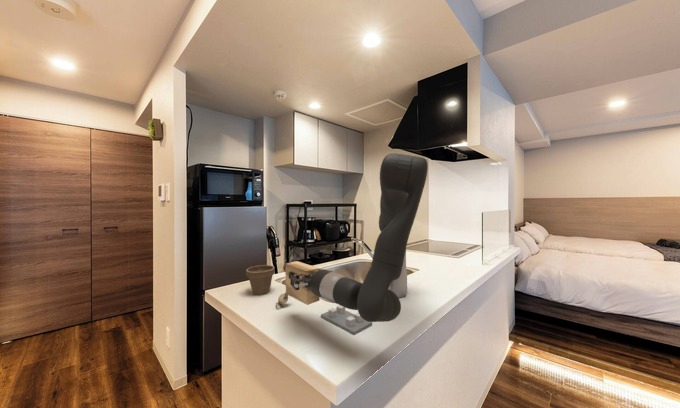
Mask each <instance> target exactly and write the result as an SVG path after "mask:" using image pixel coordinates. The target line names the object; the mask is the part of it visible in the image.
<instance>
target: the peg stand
mask: <svg viewBox="0 0 680 408" xmlns="http://www.w3.org/2000/svg"><path fill="white" fill-rule="evenodd" d="M320 318H321V319H323V320H325V321H327V322H329V323H331V324H333V325H335V326H336V327H338V328H340V329H342V330H344V331H346V332H348V333H349V334H351V335H356V334H359V333H360V332H362V331H364V330H366V329H367V328H369V327H371V326H373V322H368V321H365V320H364V319H363V318H362V317H361V316H360V314H359V312H358V311H357V312H356V313H352V312H350V311H348V310H346V308H345V307H343V306H341V305H339V304H338V305H336V308H334V307H332V308H330V309H328V311H327V312H324V313H321V314H320Z"/></svg>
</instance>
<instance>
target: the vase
mask: <svg viewBox="0 0 680 408" xmlns="http://www.w3.org/2000/svg"><path fill="white" fill-rule="evenodd" d="M288 301H289V295H287V294H286V292H285V293H280V295H279V296H278V298H277V302H275V305H276V310H281V309H282V306H283V305H285V304H286V303H287V302H288Z"/></svg>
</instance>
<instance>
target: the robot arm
mask: <svg viewBox="0 0 680 408" xmlns="http://www.w3.org/2000/svg"><path fill="white" fill-rule="evenodd" d="M381 161H382V162H381V165H380V169H379V185H380V200H379V201H380V203H379V208H380V209H379V210H380V212H379V217H378V227H379V230H380V233H379V235H378V237H377V239H376V242H375V245H374V251H373V256H372V260H371V266H370V267H369V269H368V271H367V273H366V275H365V277H364V279H363V282H360V281H358V280H356V279H353V278H350V277H346V276H345V275H343V274H340V273H337V272H334V271H333V270H328V269H325V268H323V269H322V268H319V271H317V272H315V274H308V275H305V274H297V273H294V272H292V271H291V272H289V279H290V281H291V283H290V285H291V286H292V287H293V288H294V289H295V290H299V288H300V287H302V286H304V287H305V288H310V289H311V290H312V292H313V293H314V294H315V295H316V296H318V297H319V298H321V299H323V300H325V301H327V302H330V303H333V304H336V305H338V306H339V305H341V306H343V307H345V309H349V310H353V311H357V313H358V312H359V314H360V316H361V317H362V318H363V319H364V320H365V321H368V322H372V323H378V322H379V323H382V322H391V321H393V320H396V318H397V317H398V316H399V315H400V313H401V311H402V304H401V300H400V298H404V297H406V296H407V293H408V269H407V246H408V242H409V237H410V234H411V230H412V227H413V225H414V222H415V218H416V216H417V213H418V209H419V205H420V202H421V200H422V197H423V196H422V195H423V191H424V189H425V184H426V181H427V177H428V176H427V175H428V169H429V167H428V161H427V159H426V158H425V157H421V156H416V155H410V154H404V153H397V152H395V153H388V154H387V155H385V156H384V157H383V159H382V160H381ZM303 276H304V282H303ZM298 277H299V278H300V279H298Z"/></svg>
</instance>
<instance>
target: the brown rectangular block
mask: <svg viewBox="0 0 680 408" xmlns="http://www.w3.org/2000/svg"><path fill="white" fill-rule="evenodd" d="M284 269H285V293H286V294H287V295H288V297H291V298H293V299H295V300H297V301H299V302H301V303H303V304H305V305H307V306H309V305H310V304H311V305H312V304H314V303H317V302H319V301H320V297H318V296H316V295H315V294H314V293H313V292H312V290H311V289H310V288H305V287H304V286H302V287H300V288H299V290H295V289H294V288H293V287H292V286H291V285H290V283H291V281H290V279H289V272H291V271H292V272H294V273H297V274H305V275H308V274H315V272H317V271H319V269H320V267H318V266H317V267H316V266H314V265H310V264H307V263H304V262H302V261H298V260H296V261H291V262H287V263H285V267H284ZM298 279H300V278H299V277H298ZM303 282H304V276H303Z"/></svg>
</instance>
